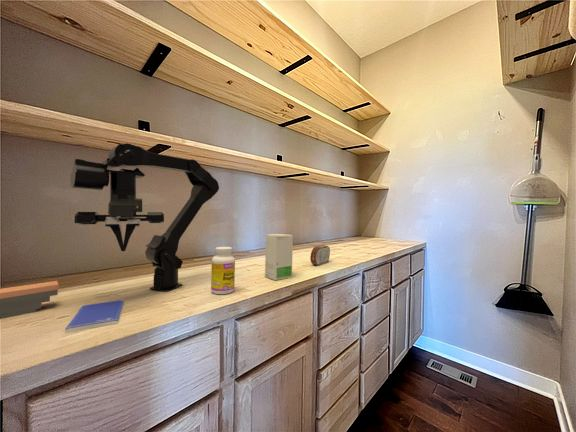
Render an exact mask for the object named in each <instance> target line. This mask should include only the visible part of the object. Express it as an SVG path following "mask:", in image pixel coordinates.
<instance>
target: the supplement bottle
mask: <svg viewBox="0 0 576 432" xmlns="http://www.w3.org/2000/svg"><path fill="white" fill-rule="evenodd" d="M214 252H215V255H214V256H213V257H212V258H211V275H210V278H211V280H210V291H211V293H213V294H215V295H228V294H231V293H233V292H234V291H235V281H236V280H235V279H236V278H235V277H236V276H235V275H236V274H235V273H236V271H235V270H236V268H235V267H236V259H235V256H233V255H232V252H233V247H231V246H217V247H215V249H214Z"/></svg>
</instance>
